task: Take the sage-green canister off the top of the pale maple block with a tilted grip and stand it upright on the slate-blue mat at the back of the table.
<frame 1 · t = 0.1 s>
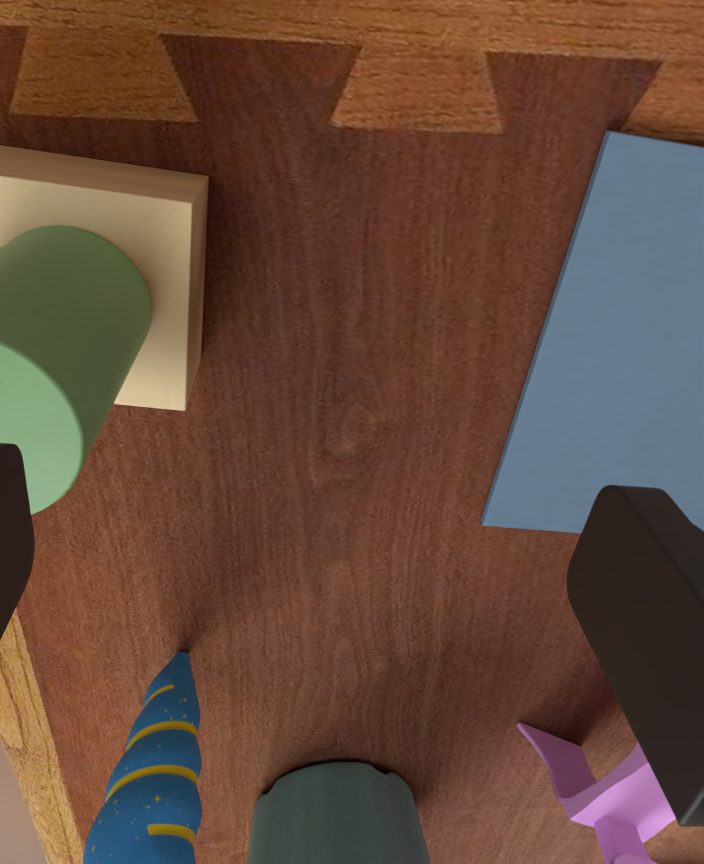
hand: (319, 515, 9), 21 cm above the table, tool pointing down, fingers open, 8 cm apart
maple block: (107, 261, 27), on the table, touching green canister
green canister: (73, 302, 23), point 5 cm above the table, touching maple block
ornament: (180, 652, 40), on the table
blue mat: (666, 371, 32), on the table
toy chair: (589, 700, 46), on the table
flower pot: (336, 803, 50), on the table
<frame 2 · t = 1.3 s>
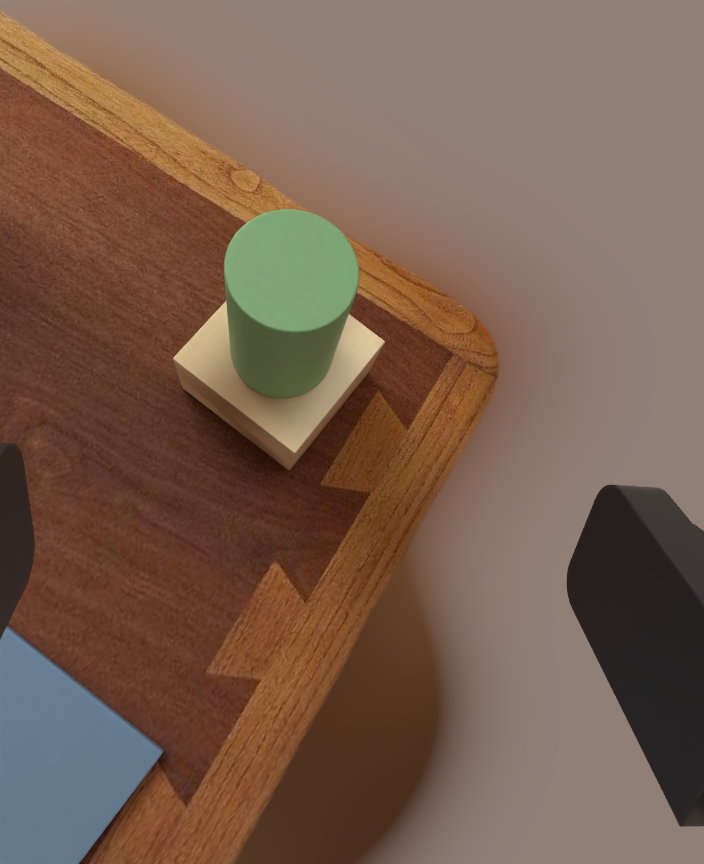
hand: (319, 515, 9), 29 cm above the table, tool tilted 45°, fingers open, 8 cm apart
maple block: (278, 379, 39), on the table, touching green canister
green canister: (281, 349, 35), point 5 cm above the table, touching maple block
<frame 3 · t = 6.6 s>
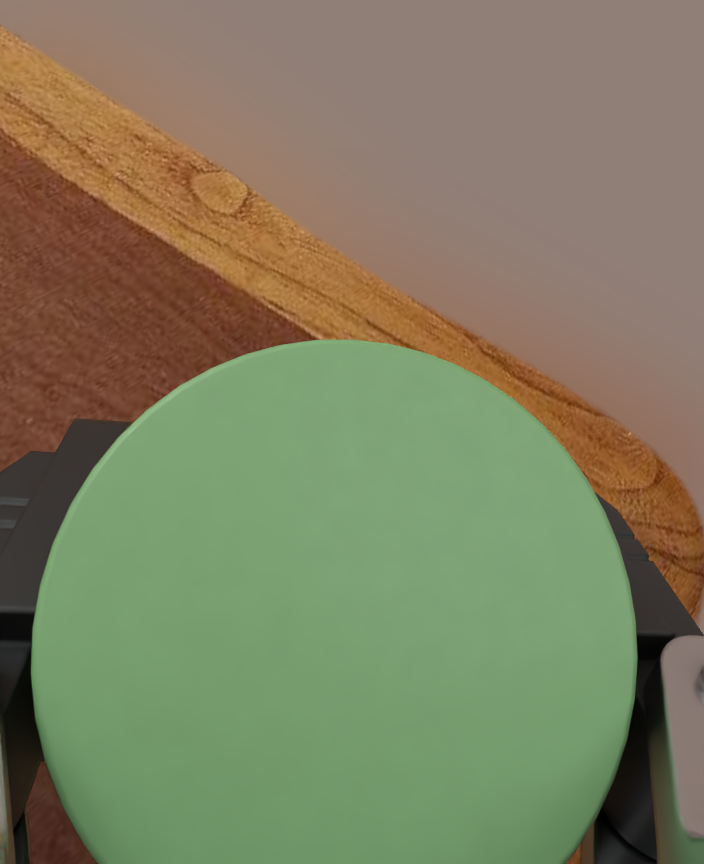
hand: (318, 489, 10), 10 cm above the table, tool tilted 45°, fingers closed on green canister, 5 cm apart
green canister: (290, 606, 14), point 5 cm above the table, touching gripper, maple block
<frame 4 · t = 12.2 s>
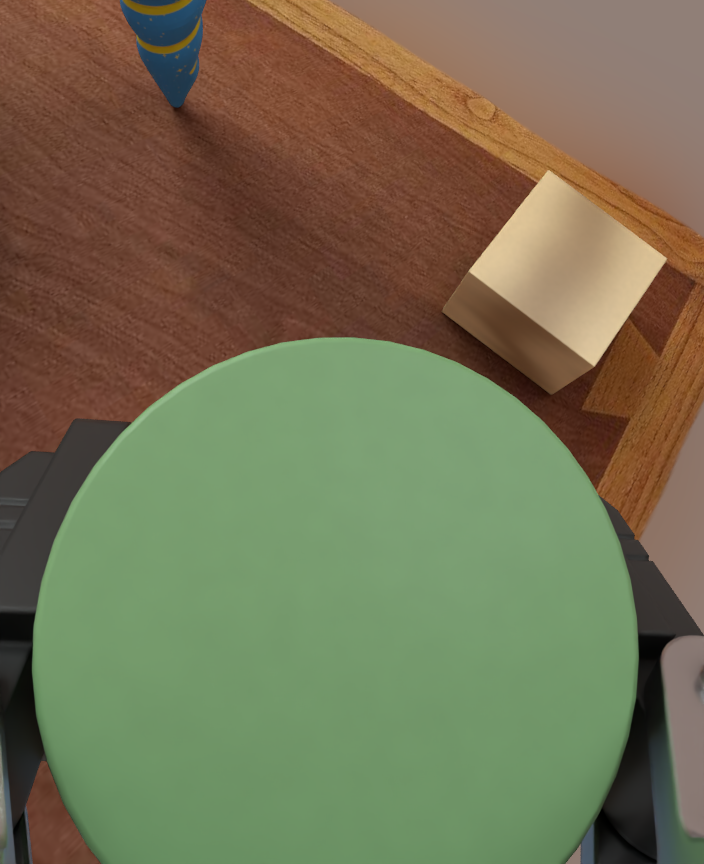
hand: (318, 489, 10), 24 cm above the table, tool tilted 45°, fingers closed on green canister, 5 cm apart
maple block: (531, 304, 39), on the table
green canister: (291, 605, 14), point 19 cm above the table, touching gripper
ornament: (177, 103, 39), on the table
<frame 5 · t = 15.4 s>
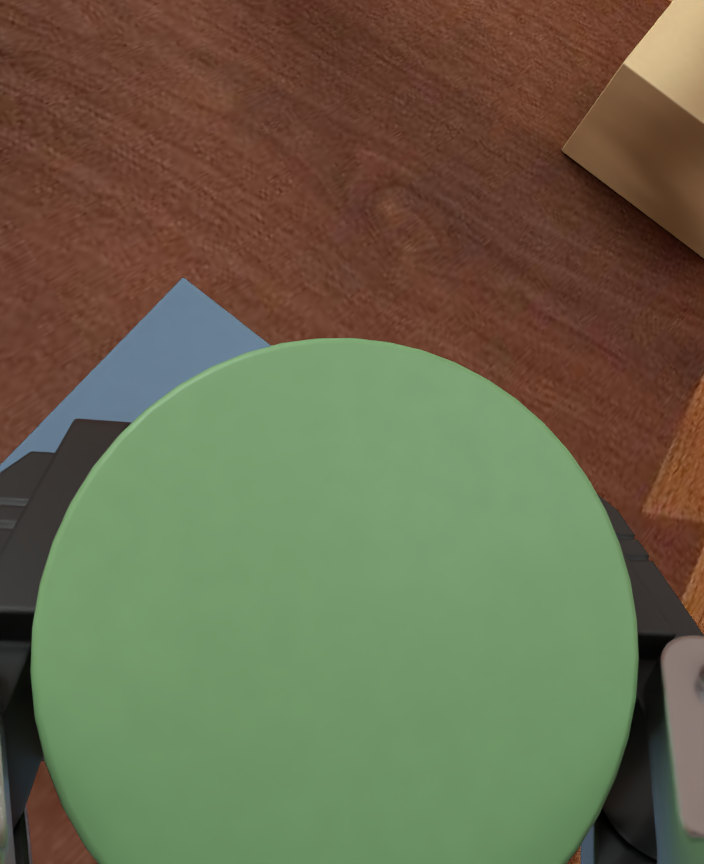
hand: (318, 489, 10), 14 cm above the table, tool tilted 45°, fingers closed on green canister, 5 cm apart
maple block: (674, 148, 30), on the table
green canister: (290, 606, 14), point 9 cm above the table, touching gripper
blue mat: (275, 599, 23), on the table
when the fingers open (6 cm above the table, at t = 18.1 s): green canister stays where it is, resting on blue mat.
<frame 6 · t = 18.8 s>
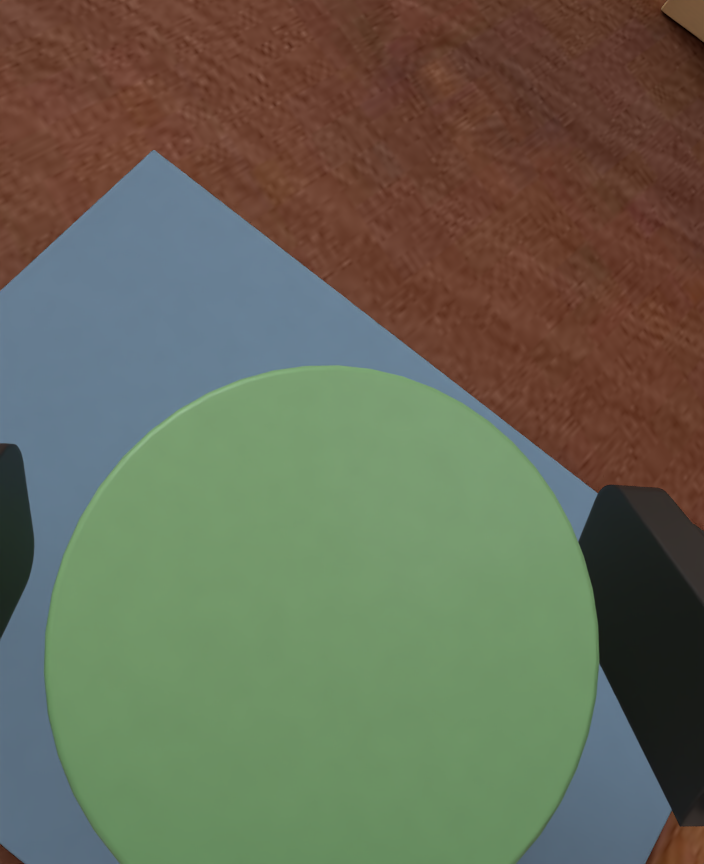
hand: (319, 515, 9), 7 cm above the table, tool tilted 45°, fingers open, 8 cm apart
green canister: (285, 608, 15), resting on blue mat
blue mat: (284, 605, 15), on the table
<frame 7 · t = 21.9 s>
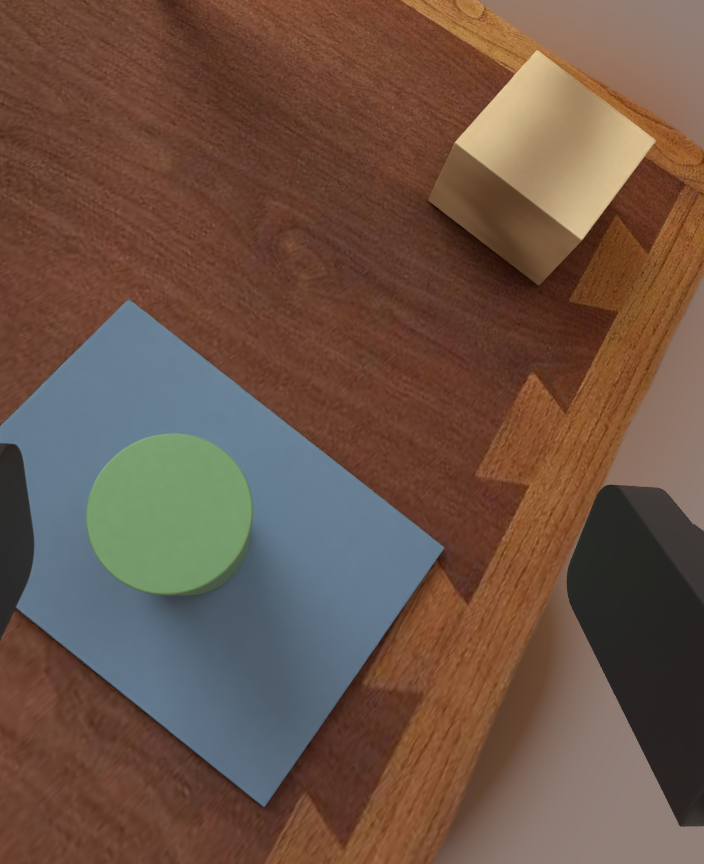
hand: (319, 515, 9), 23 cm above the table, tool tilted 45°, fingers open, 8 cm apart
maple block: (519, 198, 38), on the table
green canister: (191, 535, 30), resting on blue mat
blue mat: (192, 535, 31), on the table
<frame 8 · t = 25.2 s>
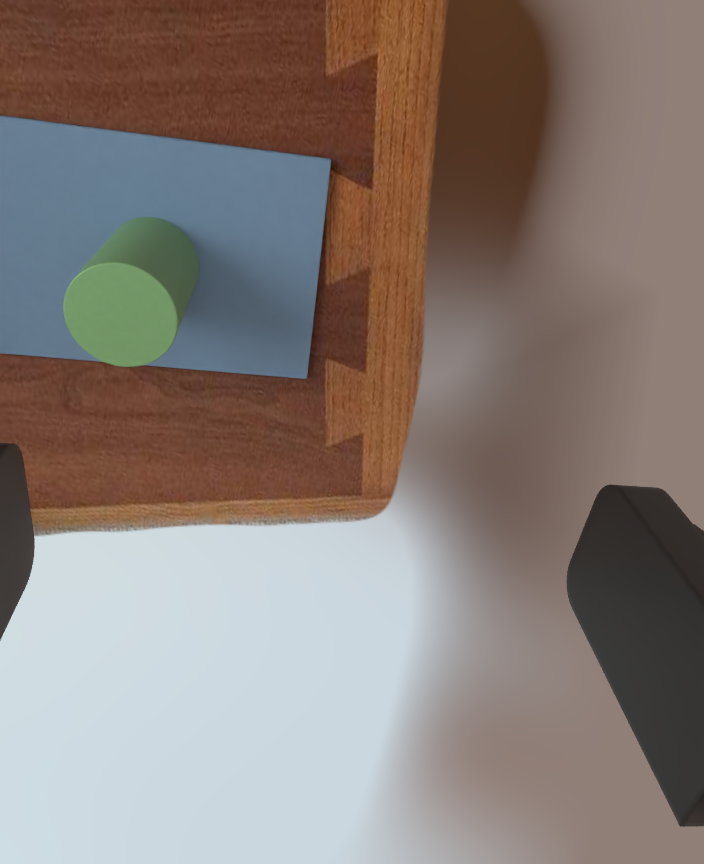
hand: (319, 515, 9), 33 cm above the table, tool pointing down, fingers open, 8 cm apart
green canister: (153, 262, 39), resting on blue mat
blue mat: (154, 259, 40), on the table
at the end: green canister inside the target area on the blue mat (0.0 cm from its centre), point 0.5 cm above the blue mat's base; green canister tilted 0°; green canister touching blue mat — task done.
